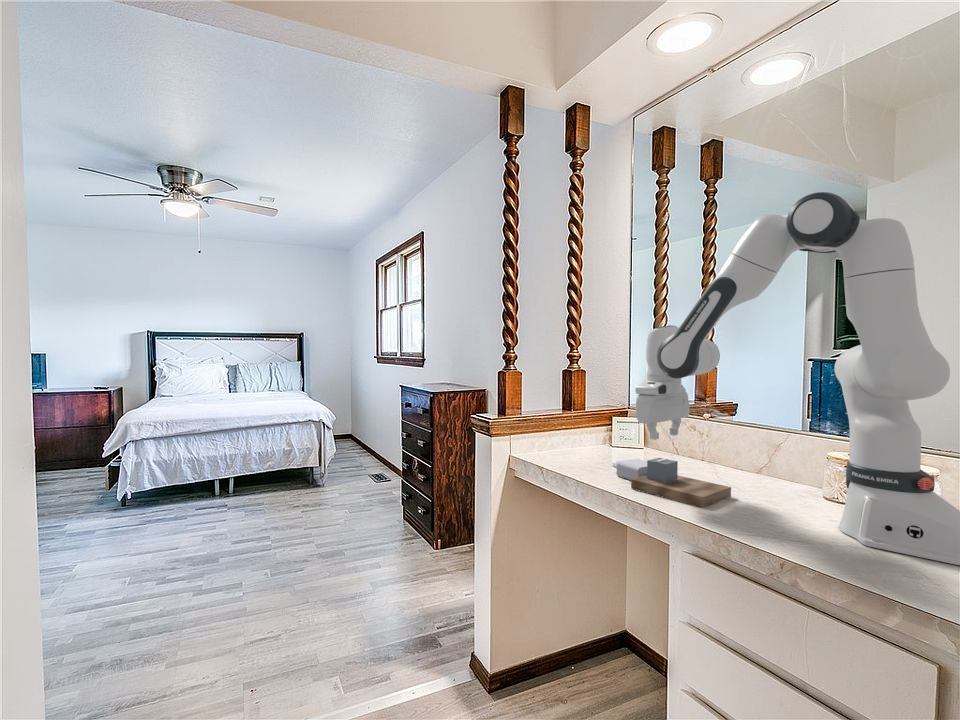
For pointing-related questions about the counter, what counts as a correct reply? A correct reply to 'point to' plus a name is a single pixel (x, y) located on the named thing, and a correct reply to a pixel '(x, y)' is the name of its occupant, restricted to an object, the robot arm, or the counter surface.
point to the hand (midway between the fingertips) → (664, 437)
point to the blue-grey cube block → (662, 470)
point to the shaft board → (684, 490)
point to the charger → (631, 468)
